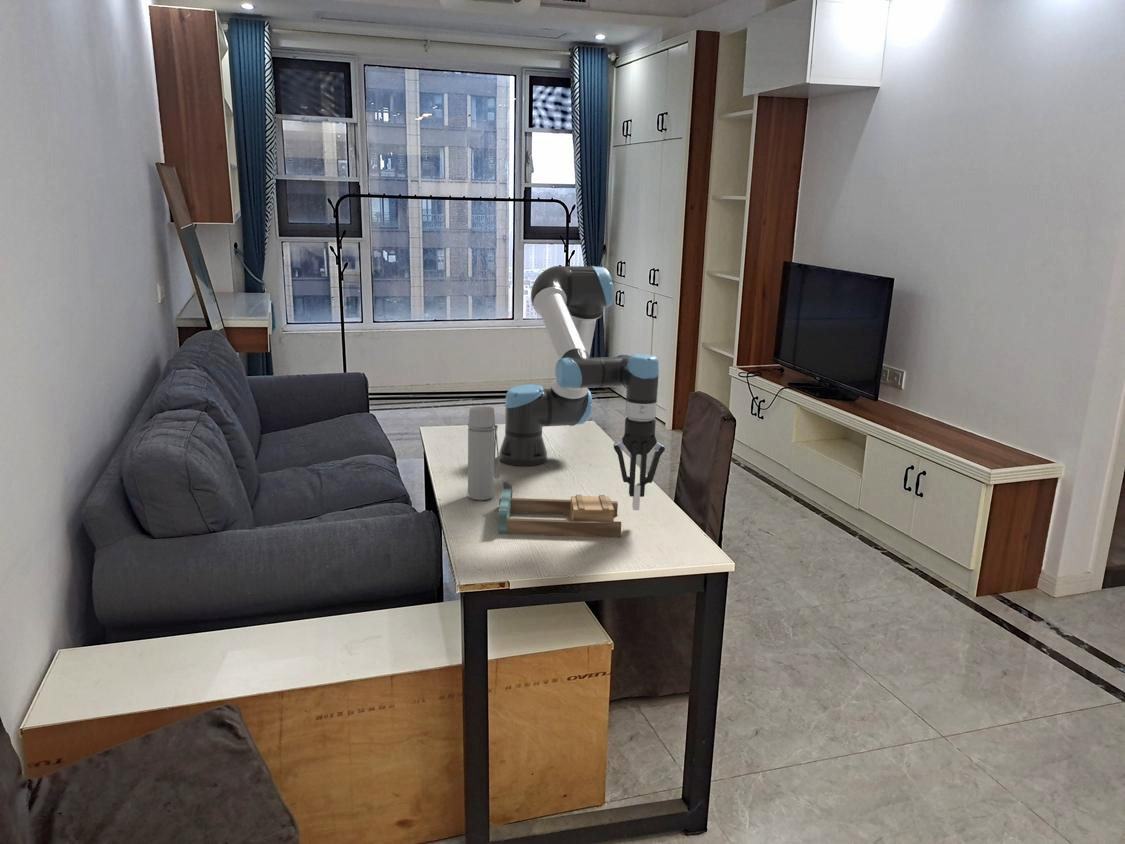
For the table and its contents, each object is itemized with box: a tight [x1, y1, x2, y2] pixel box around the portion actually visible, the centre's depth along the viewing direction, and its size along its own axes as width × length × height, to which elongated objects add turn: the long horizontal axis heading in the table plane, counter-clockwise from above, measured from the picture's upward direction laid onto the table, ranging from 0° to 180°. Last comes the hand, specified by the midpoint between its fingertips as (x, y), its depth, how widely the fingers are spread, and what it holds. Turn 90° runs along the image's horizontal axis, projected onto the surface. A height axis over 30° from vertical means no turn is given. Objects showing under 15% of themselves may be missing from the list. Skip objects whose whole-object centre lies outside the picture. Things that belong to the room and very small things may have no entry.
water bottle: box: [467, 405, 501, 502], centre depth 226 cm, size 9×8×25 cm
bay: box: [497, 480, 622, 538], centre depth 213 cm, size 20×31×7 cm, turn 90°
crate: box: [569, 494, 615, 521], centre depth 211 cm, size 10×10×6 cm
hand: (635, 508), depth 210 cm, fingers closed
